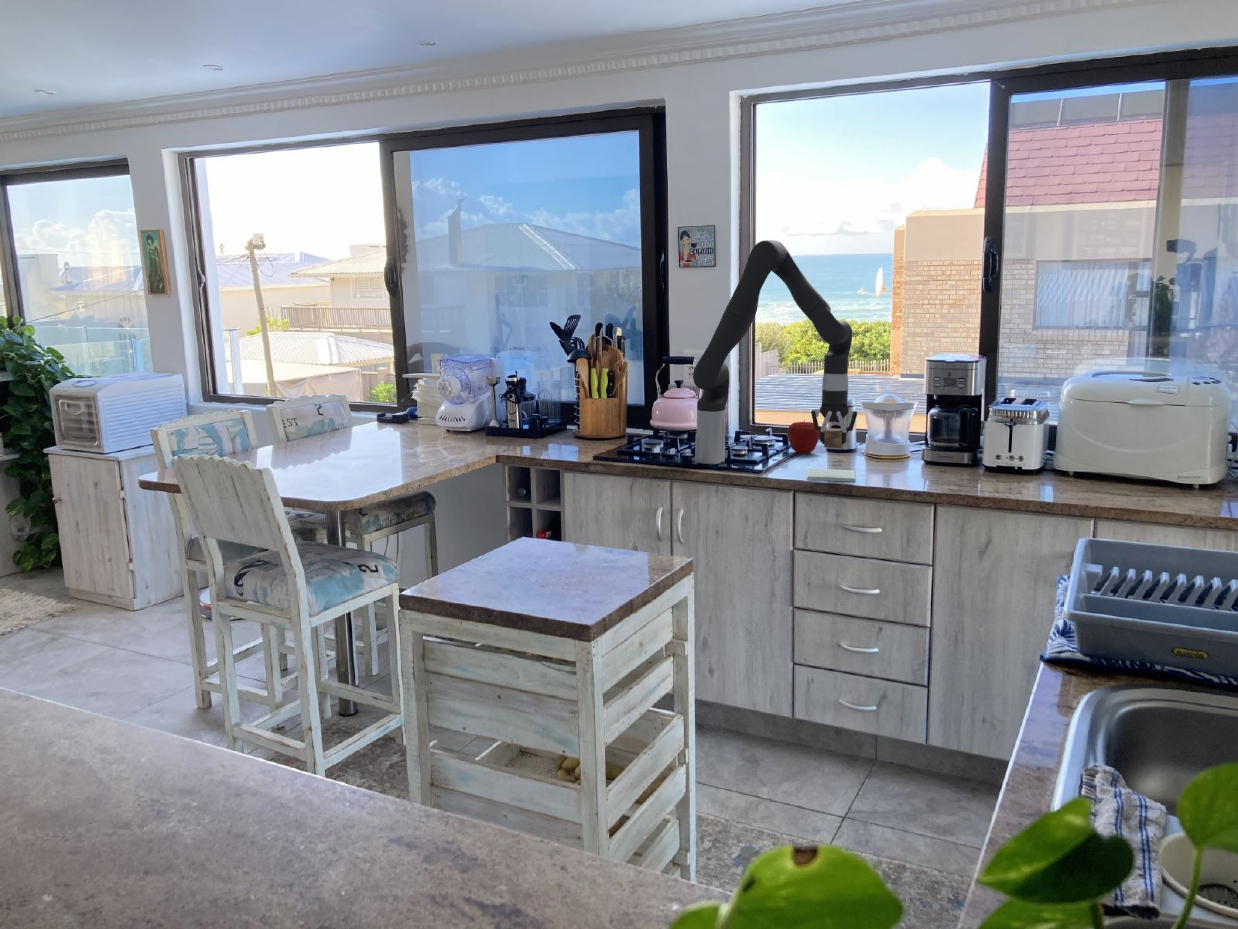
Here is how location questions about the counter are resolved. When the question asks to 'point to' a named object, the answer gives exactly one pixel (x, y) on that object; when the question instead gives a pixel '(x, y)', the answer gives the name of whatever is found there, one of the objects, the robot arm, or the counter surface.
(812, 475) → the sage board
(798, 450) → the apple
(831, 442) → the walnut cube
